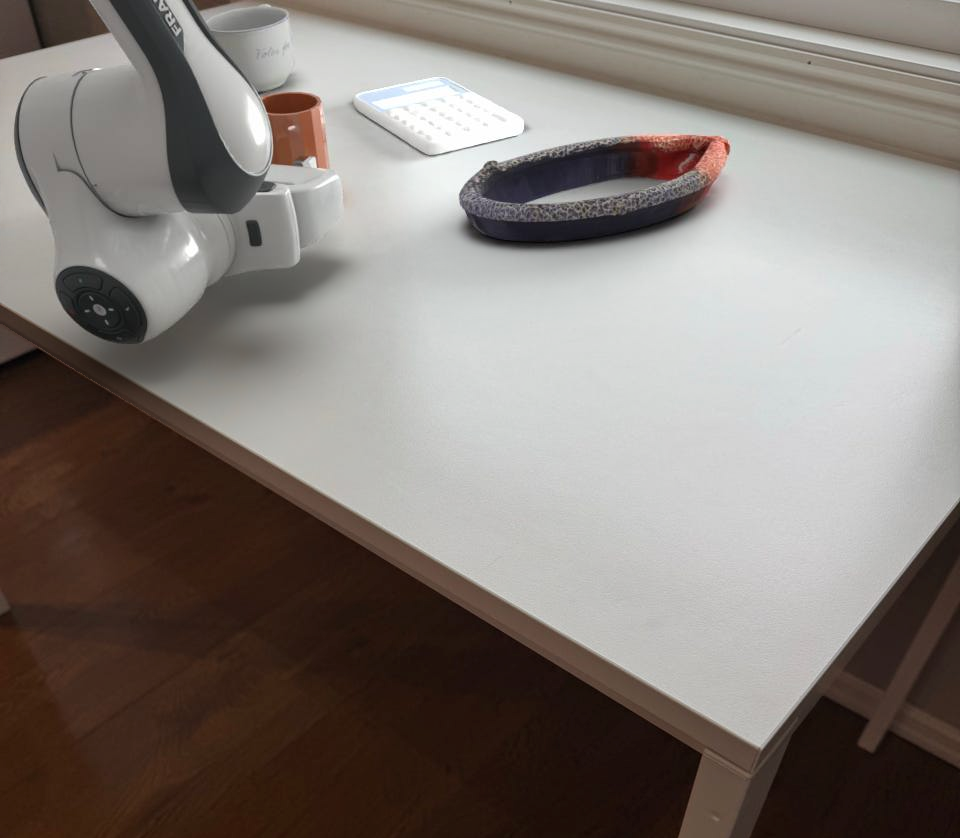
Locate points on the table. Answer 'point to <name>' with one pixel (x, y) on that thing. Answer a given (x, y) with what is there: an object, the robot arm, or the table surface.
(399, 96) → the calculator
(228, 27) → the teacup
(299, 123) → the terracotta cup
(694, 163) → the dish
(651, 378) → the table surface
